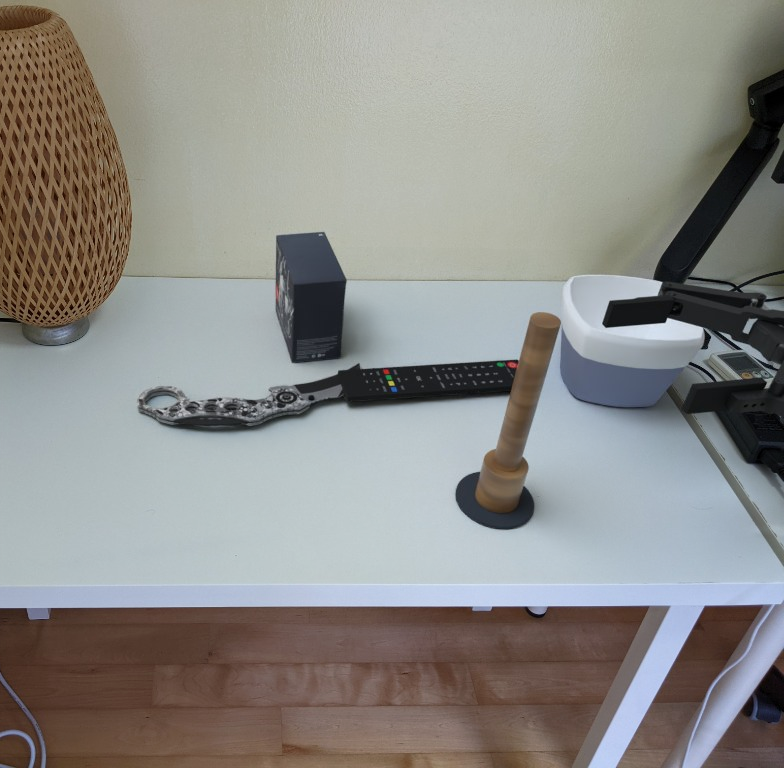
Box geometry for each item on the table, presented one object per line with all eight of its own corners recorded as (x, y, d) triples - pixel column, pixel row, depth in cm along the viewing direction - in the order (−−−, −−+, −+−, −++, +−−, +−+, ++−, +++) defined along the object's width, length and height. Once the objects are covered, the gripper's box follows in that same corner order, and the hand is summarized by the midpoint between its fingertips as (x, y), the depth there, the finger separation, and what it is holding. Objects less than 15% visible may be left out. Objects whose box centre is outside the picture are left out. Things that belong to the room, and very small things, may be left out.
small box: (273, 310, 110) (274, 233, 102) (320, 306, 111) (325, 229, 103) (290, 364, 100) (293, 282, 92) (342, 359, 100) (349, 278, 93)
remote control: (337, 379, 96) (338, 370, 95) (519, 367, 100) (521, 359, 99) (346, 405, 92) (347, 397, 91) (536, 393, 96) (538, 384, 95)
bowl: (553, 412, 92) (577, 335, 86) (535, 341, 105) (555, 268, 98) (687, 425, 91) (722, 348, 84) (653, 351, 103) (682, 278, 96)
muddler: (527, 504, 80) (583, 325, 67) (495, 519, 78) (545, 338, 65) (498, 477, 83) (545, 301, 70) (466, 491, 81) (508, 314, 68)
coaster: (550, 511, 80) (551, 509, 79) (491, 540, 76) (492, 537, 76) (496, 464, 85) (497, 461, 85) (439, 489, 82) (440, 486, 82)
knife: (359, 358, 98) (383, 403, 90) (358, 368, 99) (382, 413, 91) (135, 381, 94) (138, 431, 86) (136, 392, 95) (140, 442, 87)
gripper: (937, 451, 66) (714, 477, 63) (748, 302, 86) (570, 316, 83) (988, 382, 62) (750, 406, 59) (776, 240, 81) (589, 253, 78)
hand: (644, 353), depth 71 cm, fingers open, 13 cm apart
